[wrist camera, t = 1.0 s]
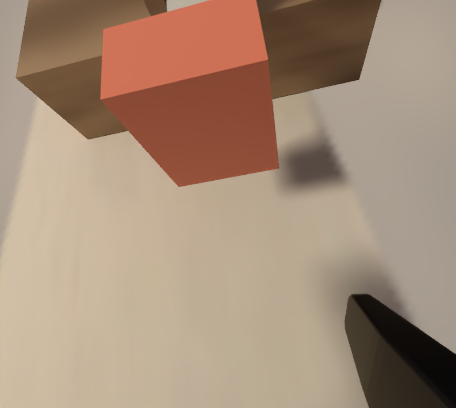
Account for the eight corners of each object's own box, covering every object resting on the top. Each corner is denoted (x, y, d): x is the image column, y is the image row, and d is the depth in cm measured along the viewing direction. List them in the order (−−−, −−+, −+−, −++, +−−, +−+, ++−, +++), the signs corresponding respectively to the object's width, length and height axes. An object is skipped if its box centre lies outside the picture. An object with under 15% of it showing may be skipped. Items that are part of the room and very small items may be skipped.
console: (358, 79, 19) (402, -79, 11) (87, 139, 21) (-25, 43, 14) (329, -12, 22) (348, -187, 14) (92, 51, 24) (1, -69, 17)
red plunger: (279, 168, 13) (268, 59, 7) (178, 186, 14) (100, 99, 8) (240, -37, 18) (216, -198, 12) (167, -15, 18) (111, -159, 13)
